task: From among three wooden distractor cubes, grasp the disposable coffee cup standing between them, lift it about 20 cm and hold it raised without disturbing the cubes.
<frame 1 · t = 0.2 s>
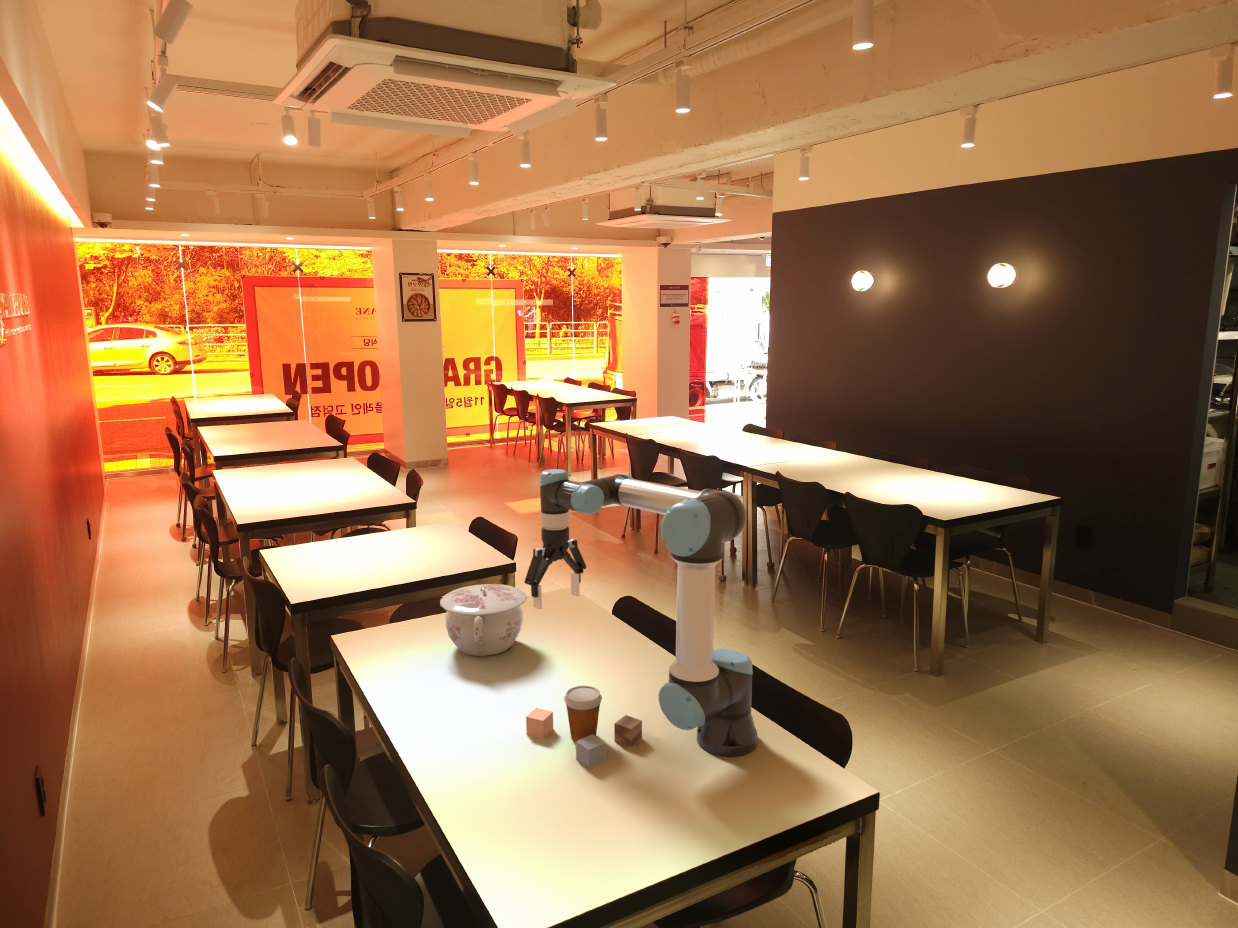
hand: (556, 601, 213), 28 cm above the table, fingers open, 13 cm apart
terracotta cube: (540, 731, 199), on the table
disposable coffee cup: (583, 737, 196), on the table
chamber pot: (485, 648, 250), on the table
walnut cube: (628, 740, 195), on the table
slate grey cube: (590, 760, 186), on the table
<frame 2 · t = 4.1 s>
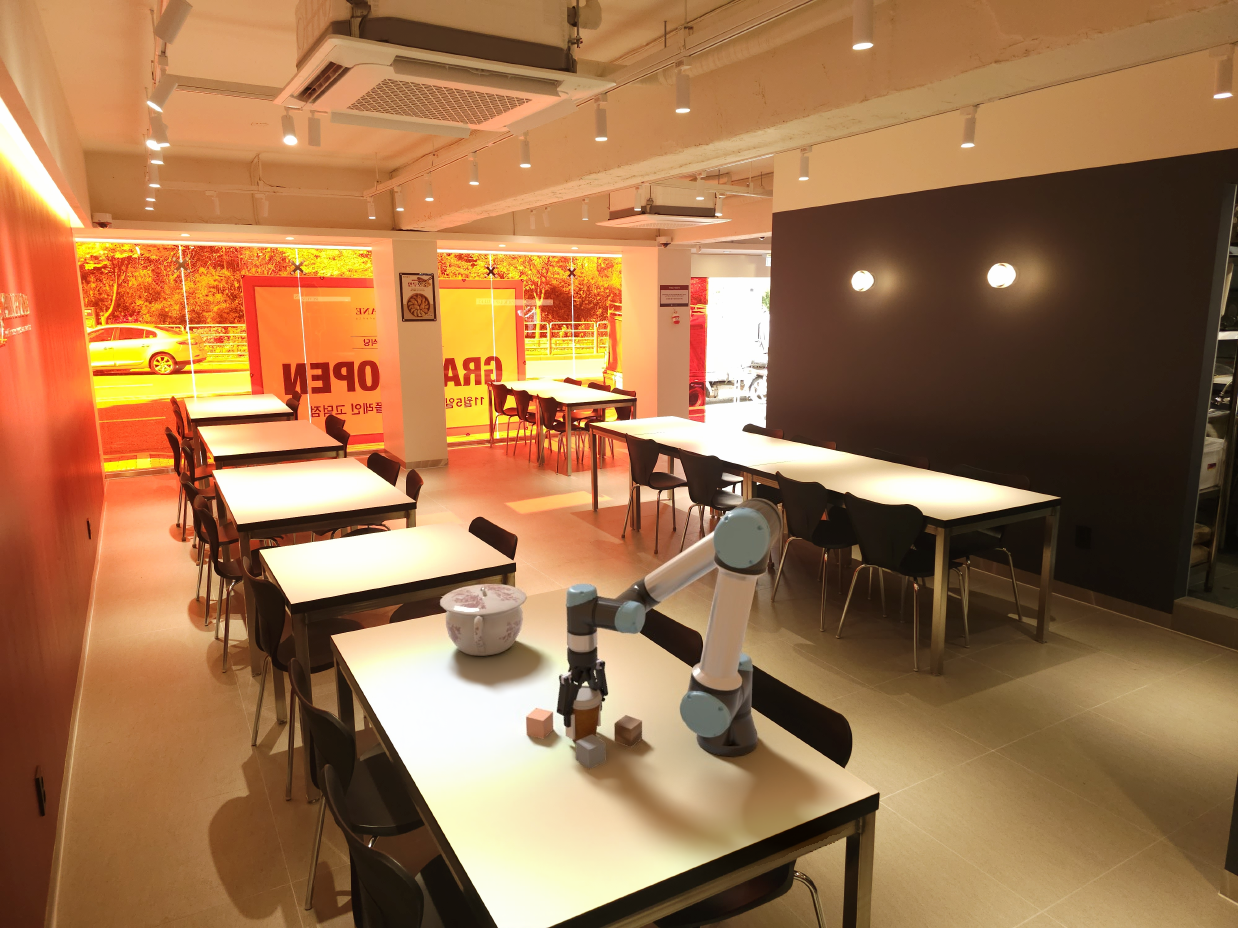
hand: (583, 730, 196), 2 cm above the table, fingers closed on disposable coffee cup, 8 cm apart
disposable coffee cup: (583, 737, 196), on the table, touching gripper
everything else where it was.
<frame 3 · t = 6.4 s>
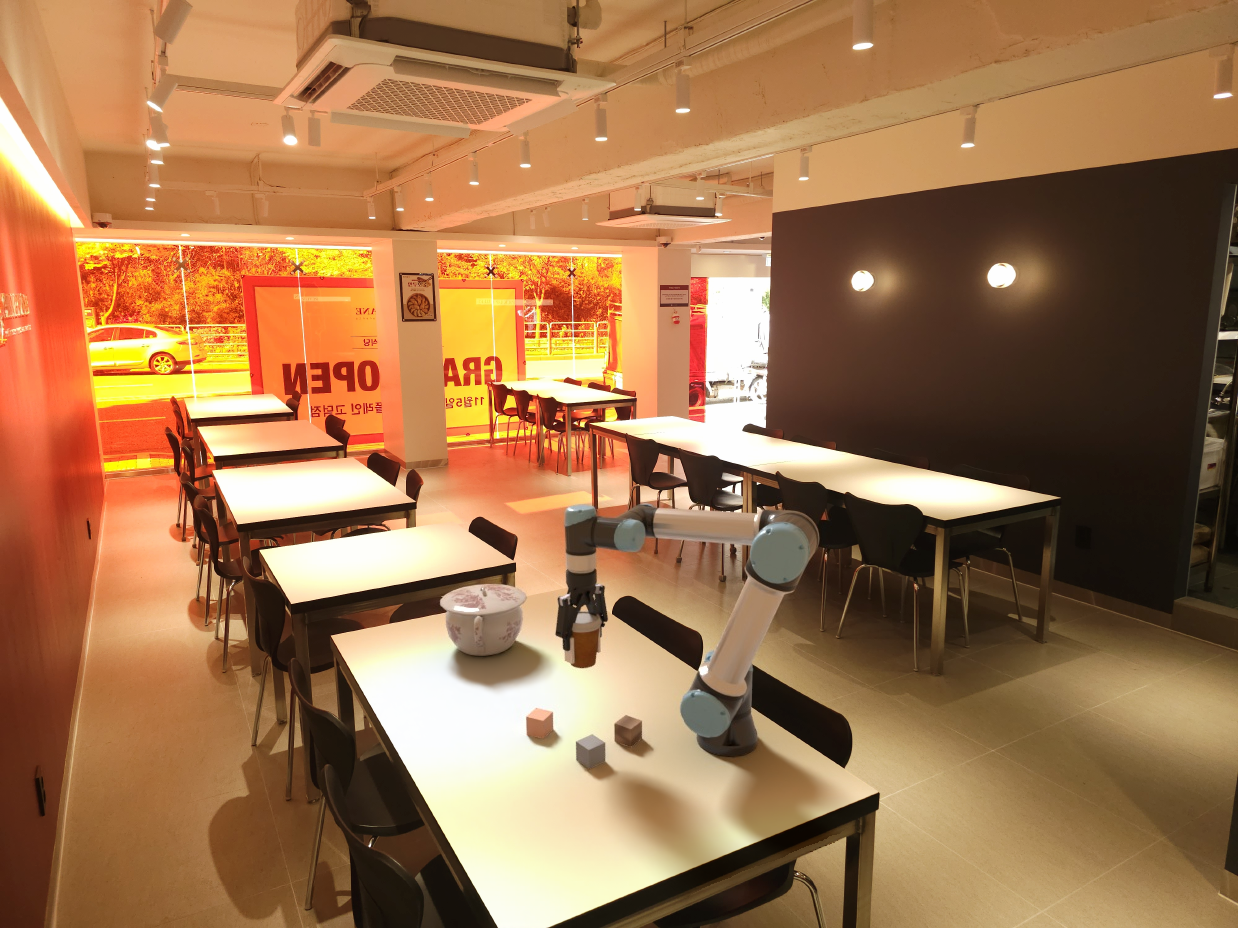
hand: (582, 656, 192), 22 cm above the table, fingers closed on disposable coffee cup, 8 cm apart
disposable coffee cup: (583, 663, 192), point 20 cm above the table, touching gripper
everything else where it was.
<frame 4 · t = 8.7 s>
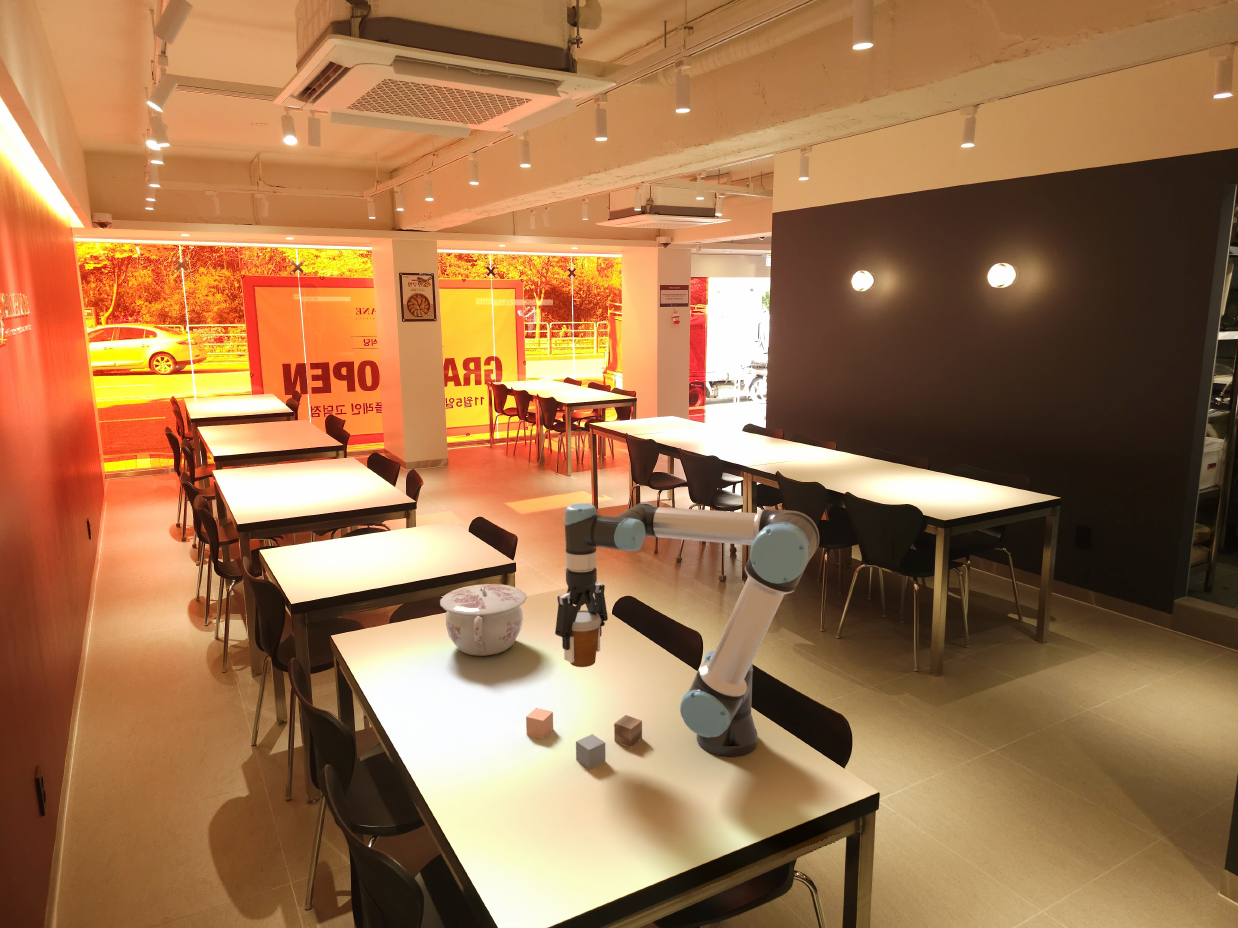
hand: (582, 655, 192), 22 cm above the table, fingers closed on disposable coffee cup, 8 cm apart
disposable coffee cup: (582, 662, 192), point 20 cm above the table, touching gripper
everything else where it was.
at the end: the gripper is holding disposable coffee cup; disposable coffee cup point 20.2 cm above the table; walnut cube moved 0.1 cm from its start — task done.
